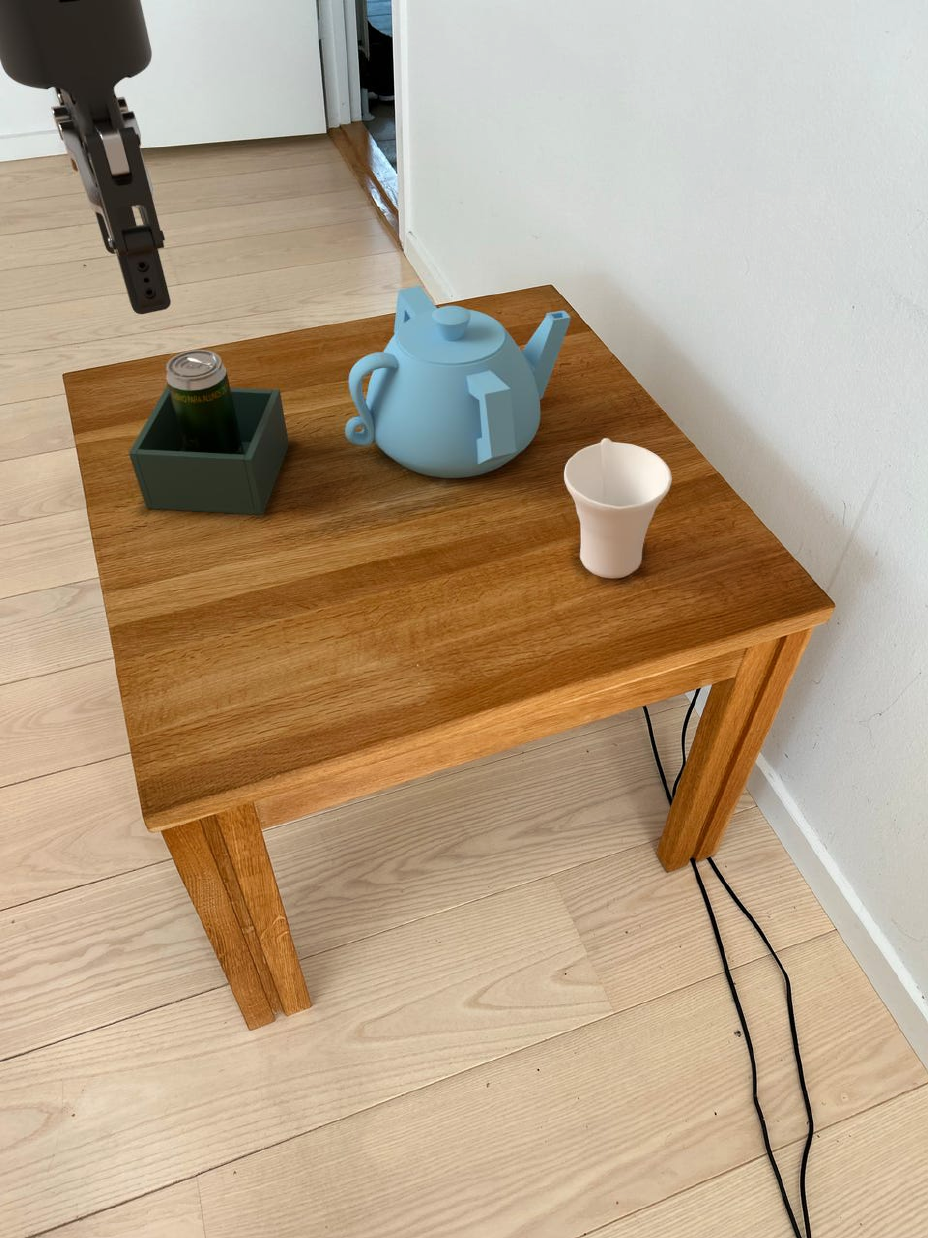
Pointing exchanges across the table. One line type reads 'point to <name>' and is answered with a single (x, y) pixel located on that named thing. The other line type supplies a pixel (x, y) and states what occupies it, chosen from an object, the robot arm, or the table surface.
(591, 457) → the cup
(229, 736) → the table surface
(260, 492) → the open box
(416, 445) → the teapot
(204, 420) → the beer can
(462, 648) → the table surface
